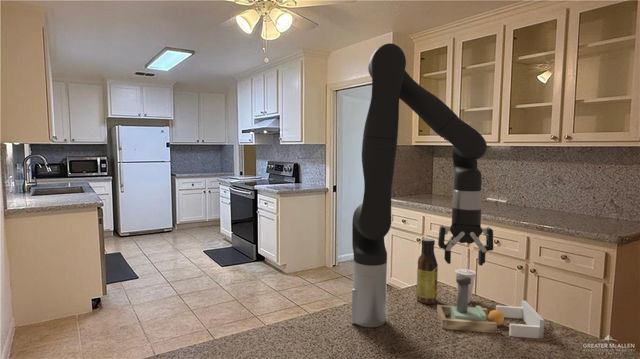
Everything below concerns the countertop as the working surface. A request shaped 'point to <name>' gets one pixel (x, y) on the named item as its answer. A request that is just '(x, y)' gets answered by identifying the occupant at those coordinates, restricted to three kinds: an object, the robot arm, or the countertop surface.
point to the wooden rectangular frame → (464, 321)
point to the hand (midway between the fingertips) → (464, 263)
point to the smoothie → (469, 274)
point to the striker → (465, 303)
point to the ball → (496, 317)
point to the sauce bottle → (427, 273)
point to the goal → (528, 315)
